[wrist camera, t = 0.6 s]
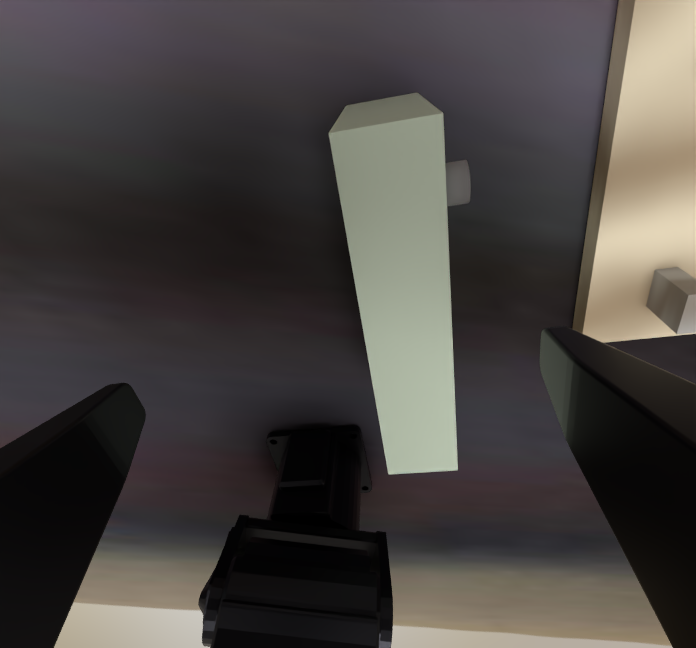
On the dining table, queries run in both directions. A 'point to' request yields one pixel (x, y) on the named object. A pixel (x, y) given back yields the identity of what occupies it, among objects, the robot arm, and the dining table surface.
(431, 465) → the door panel
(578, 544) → the dining table surface
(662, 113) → the clip bracket board
